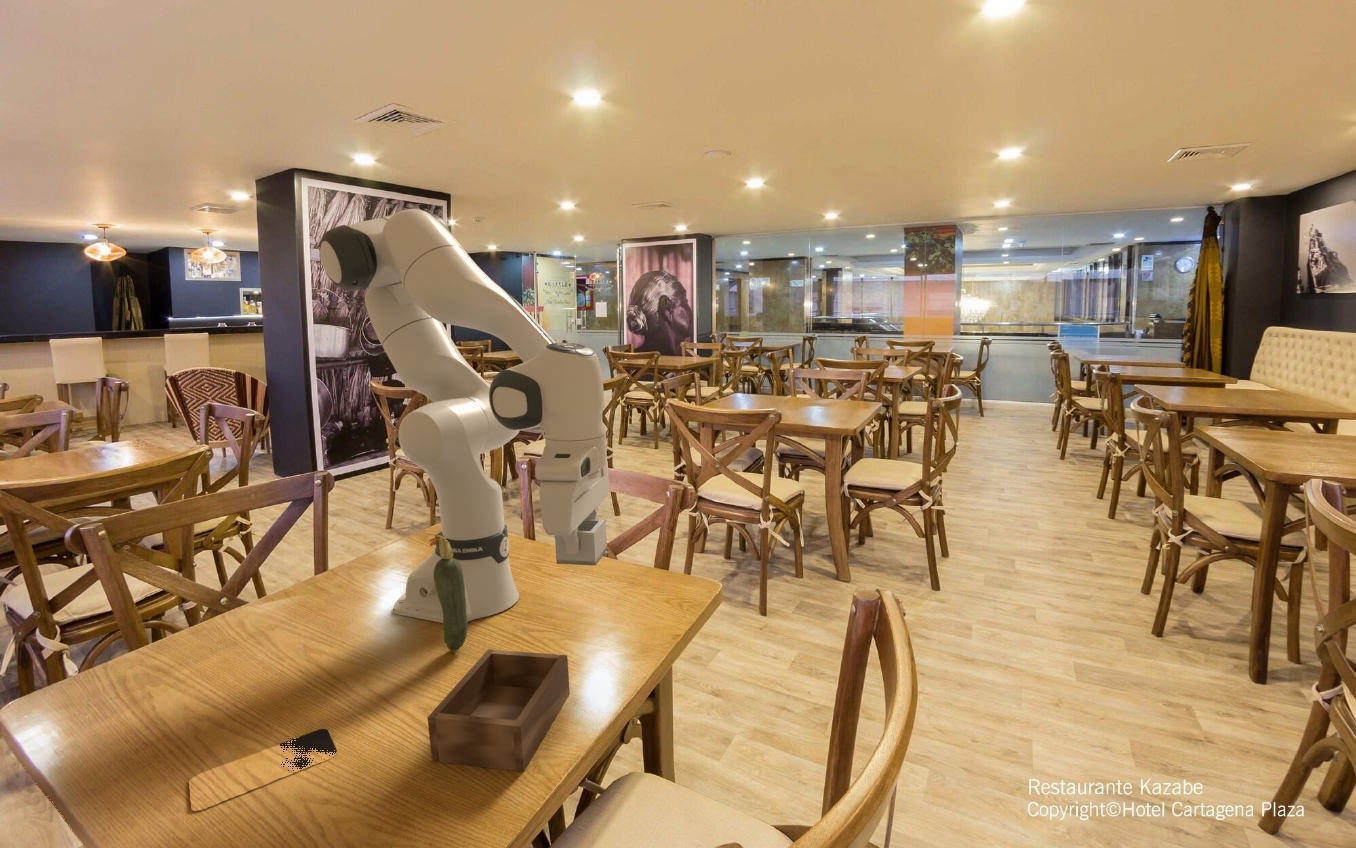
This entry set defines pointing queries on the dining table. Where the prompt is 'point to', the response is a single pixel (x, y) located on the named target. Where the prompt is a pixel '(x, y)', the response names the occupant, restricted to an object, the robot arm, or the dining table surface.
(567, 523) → the robot arm
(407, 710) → the dining table surface
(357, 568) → the dining table surface
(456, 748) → the big crate
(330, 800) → the dining table surface
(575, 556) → the box
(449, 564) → the vegetable
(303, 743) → the smartphone
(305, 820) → the dining table surface
